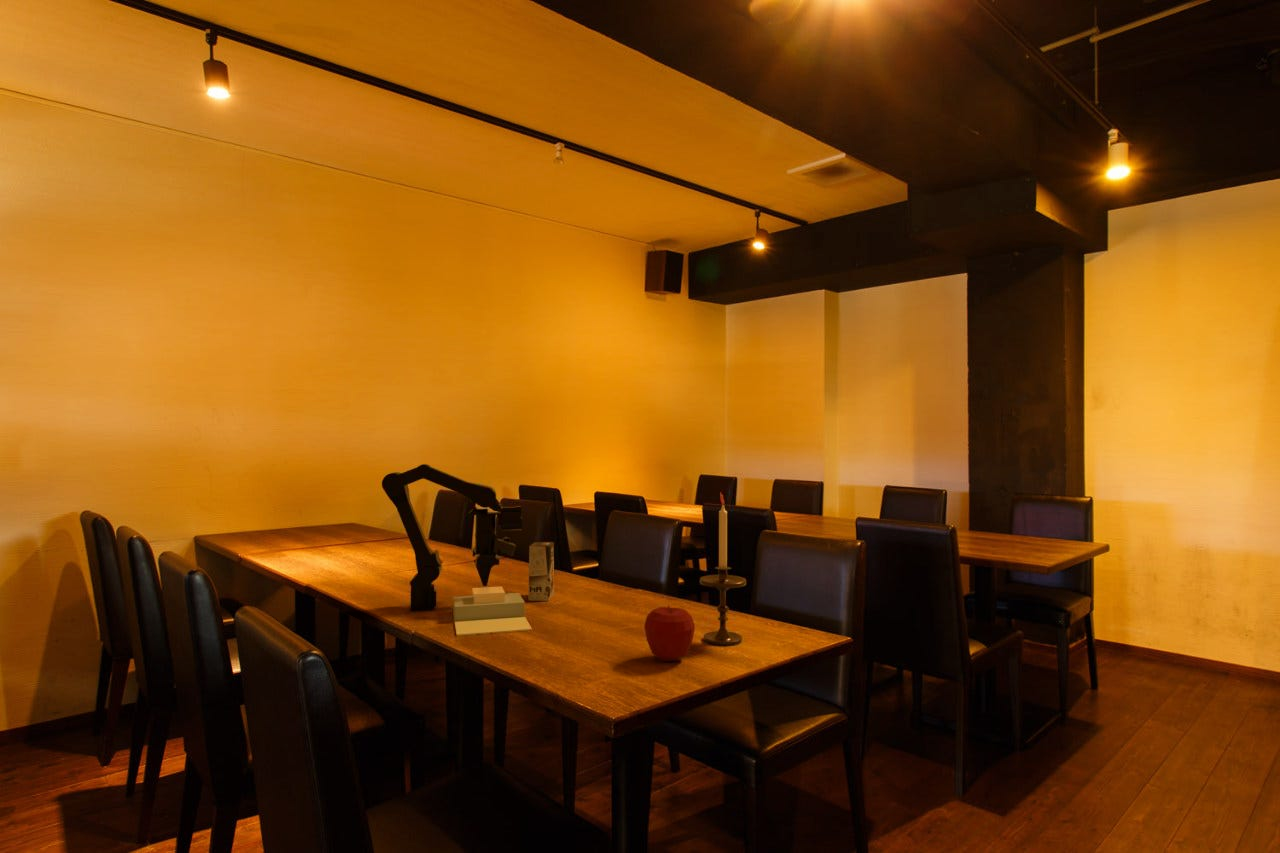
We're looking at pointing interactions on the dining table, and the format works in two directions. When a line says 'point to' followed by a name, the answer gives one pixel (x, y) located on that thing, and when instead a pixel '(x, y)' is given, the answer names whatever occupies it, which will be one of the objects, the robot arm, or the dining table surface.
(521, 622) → the mat
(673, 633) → the apple
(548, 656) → the dining table surface
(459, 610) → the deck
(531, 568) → the coffee box
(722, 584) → the candlestick
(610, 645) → the dining table surface
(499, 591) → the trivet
